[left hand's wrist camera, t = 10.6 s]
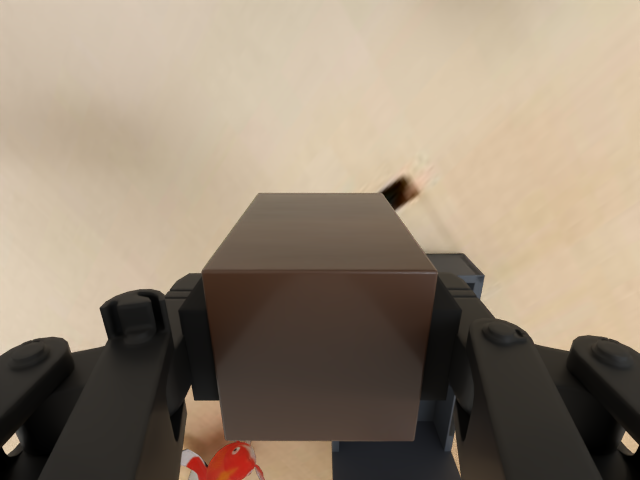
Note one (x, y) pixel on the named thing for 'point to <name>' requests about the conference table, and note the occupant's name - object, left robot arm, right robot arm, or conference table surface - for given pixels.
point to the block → (319, 320)
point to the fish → (223, 463)
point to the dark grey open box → (431, 429)
